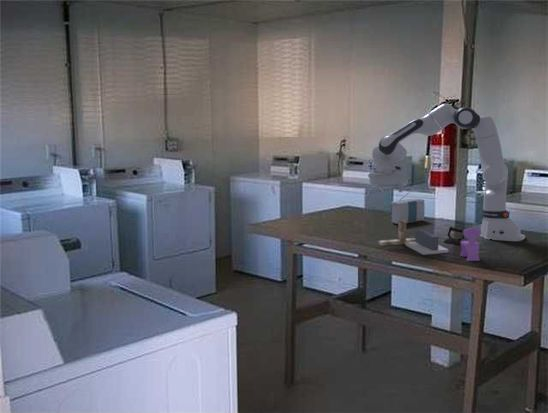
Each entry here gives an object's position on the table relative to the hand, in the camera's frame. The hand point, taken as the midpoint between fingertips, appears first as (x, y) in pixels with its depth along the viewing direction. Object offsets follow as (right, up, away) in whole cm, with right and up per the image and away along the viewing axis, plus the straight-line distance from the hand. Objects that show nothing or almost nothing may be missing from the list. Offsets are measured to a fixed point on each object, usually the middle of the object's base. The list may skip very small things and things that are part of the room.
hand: (392, 192), depth 321 cm
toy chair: (+28, -31, -40) cm, 58 cm away
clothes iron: (+30, -26, -11) cm, 42 cm away
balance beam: (+3, -27, -8) cm, 28 cm away
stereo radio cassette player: (+18, -17, +45) cm, 51 cm away
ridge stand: (+12, -28, -21) cm, 37 cm away
